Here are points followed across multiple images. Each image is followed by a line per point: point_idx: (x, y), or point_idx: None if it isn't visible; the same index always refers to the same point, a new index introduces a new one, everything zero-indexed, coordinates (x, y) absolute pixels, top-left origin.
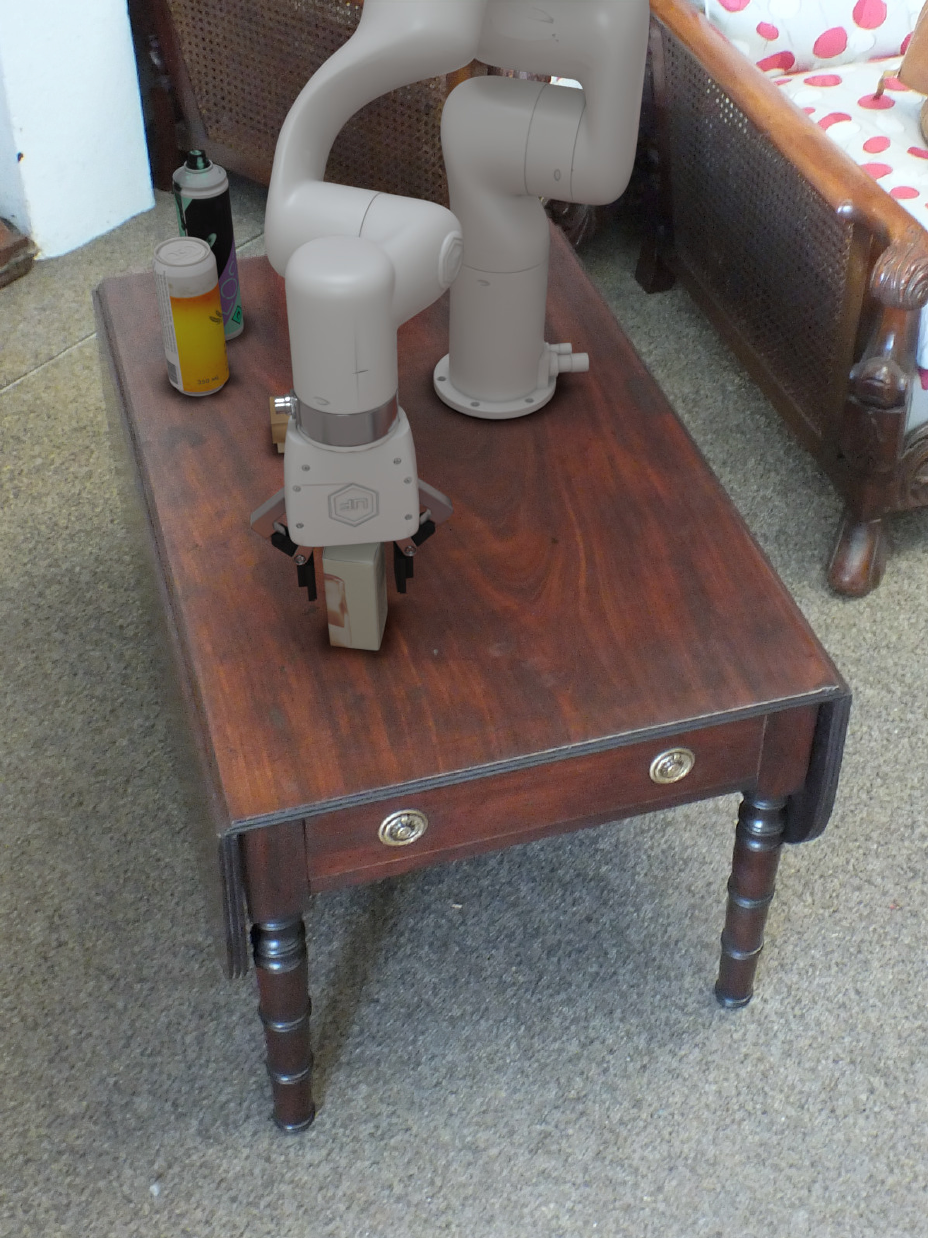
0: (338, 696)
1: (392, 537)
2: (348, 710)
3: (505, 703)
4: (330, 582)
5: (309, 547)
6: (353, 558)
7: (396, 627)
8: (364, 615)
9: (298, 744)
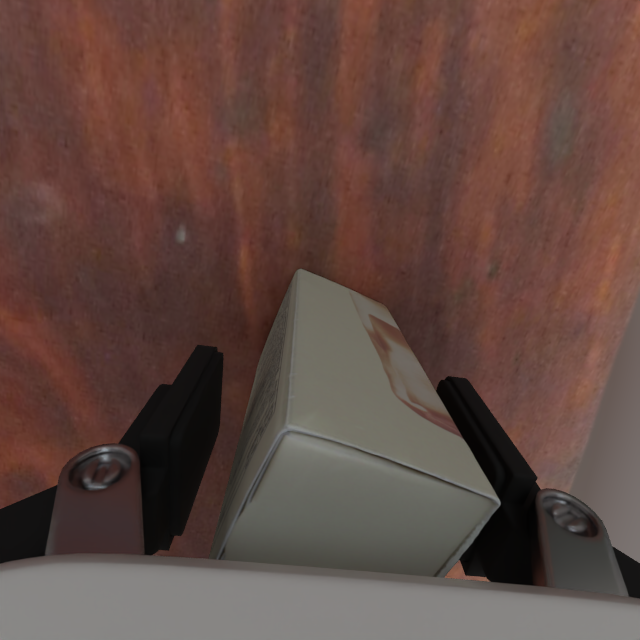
0: (414, 158)
1: (97, 597)
2: (407, 105)
3: (24, 5)
4: (433, 405)
5: (567, 573)
6: (369, 476)
7: (250, 320)
8: (326, 310)
9: (555, 20)
